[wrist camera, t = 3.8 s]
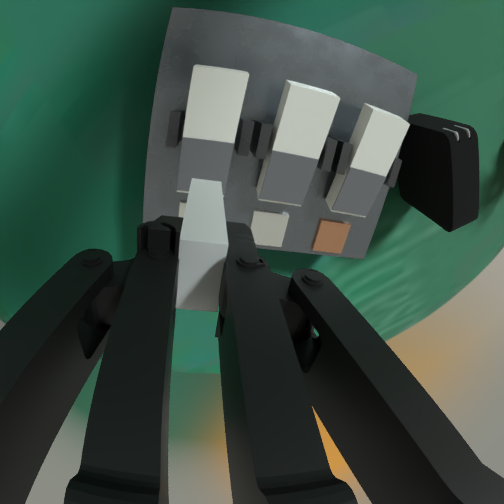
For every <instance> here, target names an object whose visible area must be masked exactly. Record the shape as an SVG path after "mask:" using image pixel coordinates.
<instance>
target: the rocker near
mask: <svg viewBox="0 0 504 504" xmlns="http://www.w3.org/2000/svg"><path fill="white" fill-rule="evenodd" d="M248 78H249V73H248V72H246V71H241V70H234V69H228V68H221V67H214V66H205V65H195V66H194V67H193V72H192V78H191V84H190V90H189V96H188V103H187V110H186V116H185V124H184V131H183V138H182V146H181V155H180V164H179V174H178V184H177V192H183V193H189V189H190V184H191V180H192V178H195V179H204V180H212V181H220V182H221V184H222V193H223V197H224V194H225V188H226V183H227V178H228V173H229V168H230V163H231V158H232V153H233V148H234V142H235V137H236V132H237V128H238V123H239V118H240V114H241V109H242V104H243V100H244V95H245V91H246V87H247V82H248Z"/></svg>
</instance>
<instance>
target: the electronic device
mask: <svg viewBox="0 0 504 504" xmlns="http://www.w3.org/2000/svg"><path fill="white" fill-rule="evenodd" d="M408 123H409V124H410V126H409V128H408V130H407V133H406V135H405V137H404V139H403V142H402V145H401V149H400V153H399V156H398V159H400V160H402V163H401V167H400V170H399V173H398V180H399V188H400V194H401V197H402V199H403V200H404V201H405V202H407V203H408V204H410V205H411V206H413V207H414V208H416V209H417V210H418V211H420V212H421V213H423V214H424V215H426V216H427V217H428V218H430V219H431V220H432V221H434V222H435V223H437V224H438V225H439V226H441V227H442V228H443V229H445V230H446V231H448V232H451V231H453V230H456V229H458V228H460V227H462V226H464V225H466V224H468V223H470V222H472V221H474V220H476V219H477V217H478V209H479V151H478V137H477V133H476V131H475V130H474V128H473V127H471V126H469V125H466V124H462V123H458V122H455V121H451V120H447V119H443V118H439V117H434V116H430V115H425V114H421V113H418V114H414V115H409V118H408Z"/></svg>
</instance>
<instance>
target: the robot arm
mask: <svg viewBox="0 0 504 504" xmlns="http://www.w3.org/2000/svg"><path fill="white" fill-rule="evenodd" d="M218 305H219V315H218V321H217V327H216V334H215V337H218V341H219V357H220V372H221V386H222V398H223V410H224V422H225V433H226V444H227V453H228V463H229V472H230V481H231V490H232V498H233V504H358V503H357V500H356V497H355V495H354V493H353V491H352V489H351V488H350V486H349V485H348V484H347V483H346V482H344V481H342V480H340V479H337V478H336V477H335V476H334V475H333V474H332V472H331V469H330V466H329V463H328V460H327V456H326V453H325V449H324V446H323V443H322V439H321V435H320V432H319V429H318V425H317V422H316V419H315V415H314V412H313V408H314V410H315V412H316V413H317V415H318V417H319V418H320V420H321V421H322V423H323V425H324V426H325V428H326V430H327V432H328V433H329V435H330V436H331V438H332V440H333V441H334V443H335V445H336V446H337V448H338V450H339V451H340V453H341V455H342V456H343V458H344V459H345V461H346V463H347V464H348V466H349V467H350V469H351V471H352V472H353V474H354V476H355V477H356V479H357V480H358V482H359V484H360V485H361V487H362V488H363V490H364V491H365V493H366V495H367V496H368V498H369V499H370V501H371V503H372V504H504V478H502V477H501V476H499V475H498V474H497V473H495V472H494V471H492V470H491V469H489V468H488V467H486V466H485V465H484V464H482V463H481V461H480V460H479V459H478V457H477V456H476V455H475V454H474V452H473V451H472V449H471V448H470V447H469V445H468V444H467V443H466V441H465V440H464V439H463V437H462V436H461V435H460V433H459V432H458V431H457V430H456V428H455V427H454V426H453V424H452V423H451V422H450V421H449V419H448V418H447V417H446V415H445V414H444V413H443V412H442V410H441V409H440V408H439V407H438V405H437V404H436V403H435V402H434V400H433V399H432V398H431V397H430V395H429V394H428V393H427V392H426V391H425V389H424V388H423V387H422V386H421V384H420V383H419V382H418V381H417V379H416V378H415V377H414V376H413V375H412V373H411V372H410V371H409V370H408V369H407V367H406V366H405V365H404V364H403V363H402V361H401V360H400V359H399V358H398V357H397V355H396V354H395V353H394V352H393V351H392V350H391V348H390V347H389V346H388V345H387V344H386V343H385V341H384V340H383V339H382V338H381V337H380V336H379V334H378V333H377V332H376V331H375V330H374V329H373V328H372V326H371V325H370V324H369V323H368V322H367V321H366V319H365V318H364V317H363V316H362V315H361V314H360V313H359V312H358V310H357V309H356V308H355V307H354V306H353V305H352V304H351V303H350V301H349V300H348V299H347V298H346V297H345V296H344V295H343V294H342V292H341V291H340V290H339V289H338V288H337V287H336V286H335V285H334V284H333V282H332V281H331V280H330V279H329V278H328V277H326V276H325V275H324V274H322V273H320V272H319V271H317V270H313V269H306V268H301V269H297V270H296V271H294V272H293V274H292V278H289V277H286V276H282V275H279V274H276V273H273V272H271V271H270V268H269V265H268V263H267V261H266V260H265V259H263V258H262V257H261V256H259V255H258V252H257V248H256V244H255V242H254V237H253V234H252V230H251V229H250V228H249V227H248V226H247V225H246V224H245V223H237V222H228V221H226V219H225V211H224V202H223V193H222V184H221V182H220V181H212V180H204V179H195V178H192V180H191V184H190V189H189V194H188V198H187V203H186V208H185V213H184V217H174V216H164V215H161V216H160V217H158V218H157V219H156V220H155V221H148V222H145V223H143V224H140V226H139V227H138V228H137V254H136V256H135V258H133V259H130V260H125V261H116V262H113V261H112V256H111V255H110V253H109V252H107V251H104V250H101V249H87V250H84V251H81V252H79V253H78V254H76V255H75V256H74V257H73V258H71V259H70V260H69V261H68V262H67V263H66V264H65V265H64V266H63V267H62V268H61V269H60V270H58V271H57V272H56V273H55V274H54V275H53V276H52V277H51V278H50V279H49V280H48V281H47V282H46V283H45V284H44V285H43V286H42V287H41V288H40V289H39V290H38V291H37V292H36V293H35V294H34V295H33V296H32V297H31V298H30V299H29V300H28V301H27V302H26V303H25V304H24V305H23V306H22V307H21V308H20V309H19V310H18V312H17V313H16V314H15V315H14V316H13V317H12V318H11V319H10V320H9V321H8V322H7V324H6V325H5V326H4V327H3V328H2V329H1V330H0V504H25V502H26V500H27V497H28V495H29V492H30V490H31V488H32V486H33V483H34V481H35V479H36V477H37V475H38V472H39V470H40V468H41V466H42V464H43V462H44V459H45V458H46V455H47V453H48V451H49V449H50V447H51V445H52V443H53V441H54V439H55V437H56V435H57V434H58V432H59V430H60V428H61V426H62V424H63V422H64V420H65V418H66V416H67V415H68V413H69V411H70V409H71V407H72V405H73V404H74V402H75V399H76V398H77V396H78V394H79V393H80V391H81V389H82V387H83V386H84V384H85V382H86V381H87V379H88V377H89V375H90V374H91V372H92V370H93V369H94V367H95V365H96V364H97V361H98V360H99V359H100V357H101V355H102V354H103V352H104V354H103V358H102V362H101V366H100V370H99V374H98V378H97V382H96V386H95V390H94V394H93V399H92V404H91V408H90V413H89V418H88V423H87V429H86V434H85V440H84V446H83V452H82V459H81V465H80V469H79V472H78V474H77V475H75V476H74V477H73V478H72V479H70V481H69V483H68V486H67V488H66V493H65V498H64V504H169V498H168V426H169V425H168V424H169V398H170V378H171V364H172V350H173V338H174V327H175V312H176V308H178V309H189V310H200V311H213V312H217V311H218ZM314 328H315V329H316V330H317V332H318V333H319V336H318V337H317V336H316V334H315V333H314V332H313V330H314ZM104 350H105V351H104ZM312 406H313V408H312Z"/></svg>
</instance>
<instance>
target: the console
mask: <svg viewBox="0 0 504 504" xmlns="http://www.w3.org/2000/svg"><path fill="white" fill-rule="evenodd" d="M195 65H205V66H214V67H221V68H228V69H234V70H241V71H246V72H248V73H249V78H248V82H247V87H246V91H245V95H244V100H243V104H242V109H241V114H240V118H239V123H238V128H237V132H236V137H235V142H234V148H233V153H232V158H231V163H230V168H229V173H228V178H227V183H226V188H225V194H224V197H223V202H224V211H225V219H226V221H228V222H237V223H245V224H246V225H247V226H248V227H249V228H250V229H251V230H252V234H253V237H254V242H255V244H256V248H261V249H271V250H280V251H290V252H299V253H309V254H319V255H328V256H338V257H347V258H356V259H364V257H365V255H366V252H367V249H368V247H369V244H370V242H371V239H372V236H373V233H374V231H375V228H376V225H377V222H378V219H379V217H380V214H381V211H382V208H383V205H384V202H385V199H386V196H387V193H388V190H389V187H393V188H394V186H395V183H396V180H397V177H398V173H399V170H400V167H401V163H402V160H400V159H398V156H399V153H400V149H401V146H400V148H399V150H398V152H397V155H396V157H395V159H394V161H393V163H392V165H391V167H390V169H389V171H388V173H387V176H386V179H385V181H384V183H383V185H382V187H381V189H380V191H379V193H378V195H377V197H376V199H375V201H374V203H373V205H372V207H371V209H370V211H369V213H368V214H367V216H366V217H360V216H355V215H349V214H343V213H338V212H332V211H330V209H329V207H328V205H327V203H326V200H325V199H326V197H327V195H328V192H329V190H330V188H331V185H332V183H333V180H334V178H335V176H336V173H337V174H341V175H344V174H345V171H346V167H347V163H348V159H349V156H350V152H351V148H352V144H350V143H349V141H350V138H351V136H352V133H353V131H354V128H355V126H356V123H357V121H358V118H359V115H360V113H361V110H362V107H363V105H364V103H366V104H369V105H372V106H375V107H377V108H380V109H382V110H385V111H387V112H390V113H392V114H395V115H397V116H399V117H401V118H402V119H404V120H405V121H406V122H408V118H409V113H410V109H411V105H412V100H413V95H414V91H415V86H416V80H417V74H415V73H413V72H411V71H409V70H407V69H405V68H403V67H401V66H399V65H397V64H395V63H393V62H391V61H389V60H387V59H385V58H382V57H380V56H378V55H376V54H373V53H371V52H369V51H366V50H364V49H361V48H359V47H356V46H354V45H351V44H349V43H346V42H343V41H341V40H338V39H335V38H332V37H329V36H326V35H323V34H320V33H317V32H313V31H310V30H307V29H303V28H300V27H296V26H292V25H289V24H285V23H281V22H276V21H272V20H268V19H263V18H258V17H253V16H247V15H242V14H236V13H229V12H222V11H214V10H205V9H194V8H179V7H173V8H172V12H171V16H170V20H169V24H168V28H167V32H166V37H165V41H164V46H163V51H162V56H161V61H160V66H159V71H158V77H157V83H156V89H155V95H154V102H153V108H152V116H151V123H150V132H149V140H148V150H147V161H146V173H145V187H144V204H143V223H145V222H148V221H155V220H156V219H157V218H158V217H160V216H161V215H164V216H174V217H184V213H185V208H186V203H187V198H188V194H189V193H183V192H177V184H178V174H179V164H180V155H181V146H182V138H183V131H184V124H185V116H186V110H187V103H188V96H189V90H190V84H191V78H192V72H193V67H194V66H195ZM286 80H290V81H294V82H298V83H302V84H306V85H310V86H313V87H317V88H320V89H324V90H327V91H331V92H333V93H334V94H336V95H337V96H338V97H340V101H339V104H338V107H337V110H336V112H335V115H334V118H333V121H332V124H331V127H330V129H329V132H328V135H327V138H326V140H325V143H324V146H323V149H322V151H321V154H320V157H319V161H318V164H317V167H316V169H315V172H314V175H313V177H312V180H311V183H310V185H309V188H308V191H307V193H306V196H305V198H304V201H303V204H302V205H301V206H295V205H288V204H282V203H275V202H268V201H261V200H258V196H257V191H256V188H257V184H258V180H259V176H260V173H261V169H262V165H263V162H264V159H266V154H267V150H268V145H269V140H270V136H271V132H272V129H273V125H274V122H275V118H276V114H277V111H278V107H279V104H280V100H281V96H282V93H283V89H284V86H285V82H286ZM402 142H403V141H402ZM401 145H402V144H401Z"/></svg>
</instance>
